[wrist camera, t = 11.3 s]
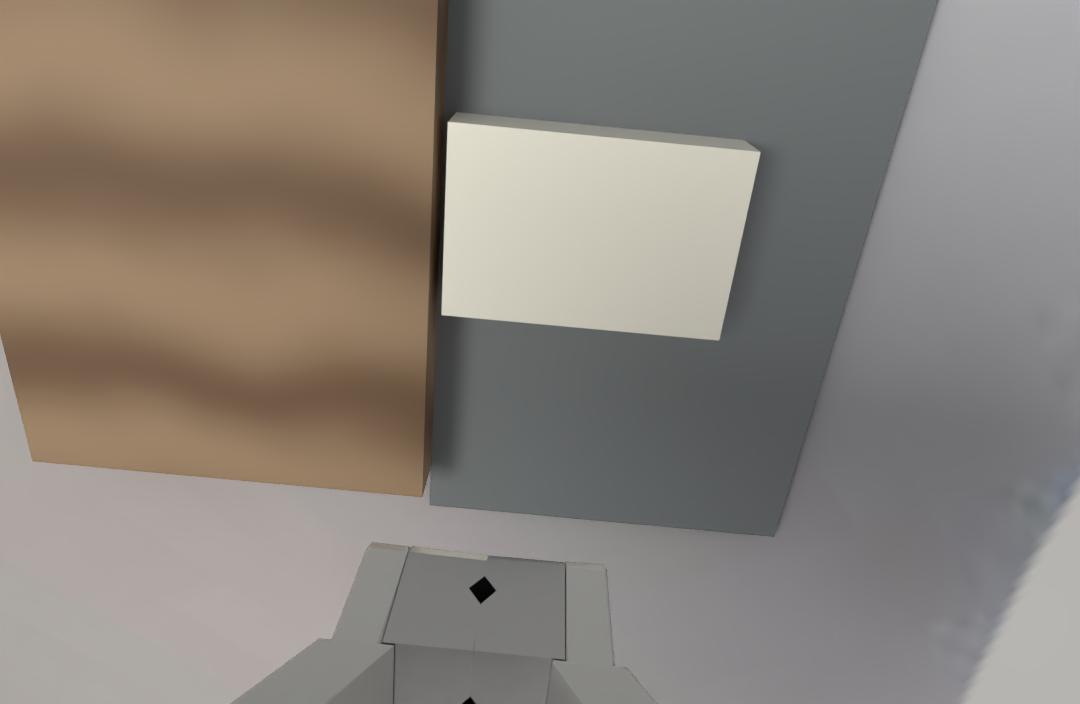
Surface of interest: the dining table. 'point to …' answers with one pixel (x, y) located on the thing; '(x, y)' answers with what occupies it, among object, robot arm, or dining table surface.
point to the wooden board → (224, 235)
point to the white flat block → (592, 225)
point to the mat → (760, 274)
